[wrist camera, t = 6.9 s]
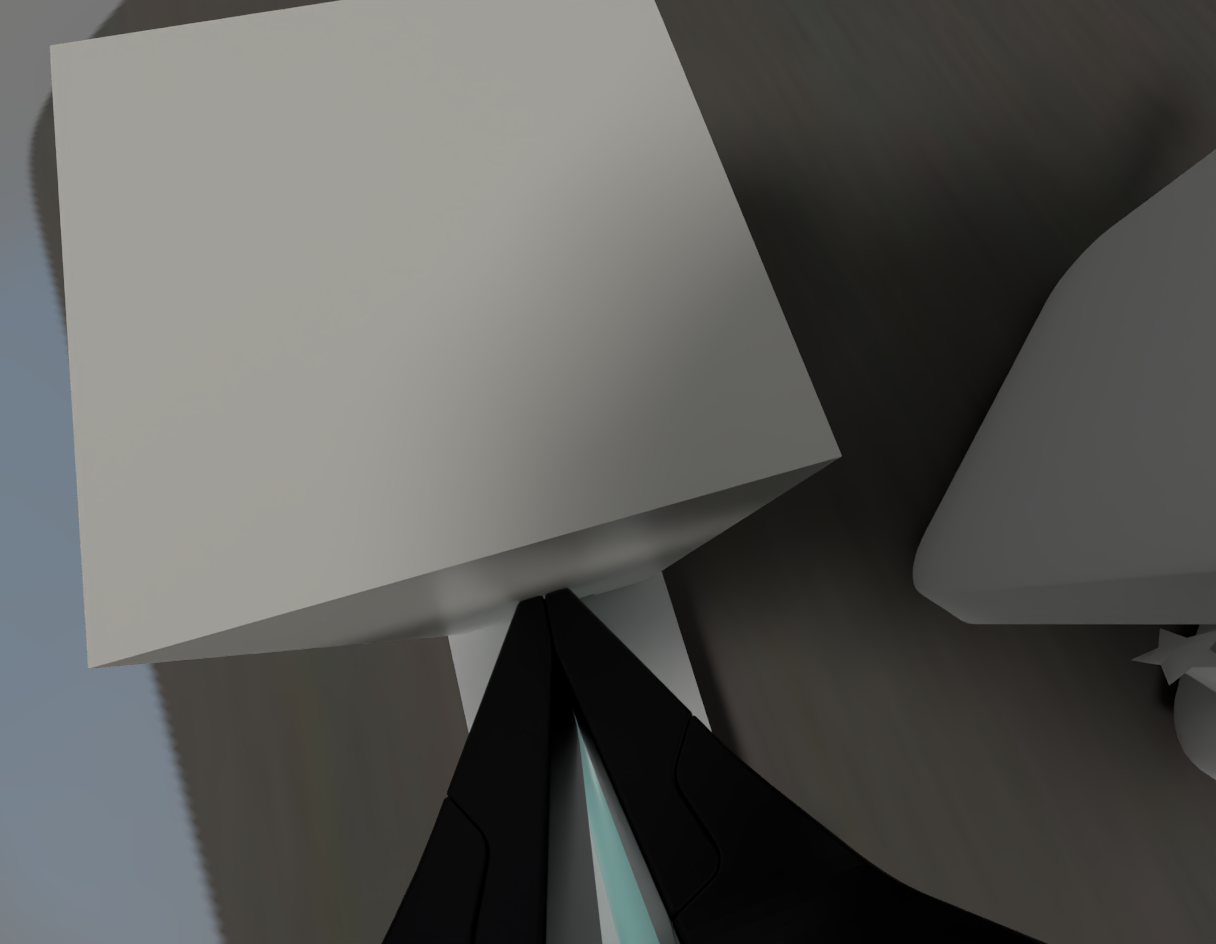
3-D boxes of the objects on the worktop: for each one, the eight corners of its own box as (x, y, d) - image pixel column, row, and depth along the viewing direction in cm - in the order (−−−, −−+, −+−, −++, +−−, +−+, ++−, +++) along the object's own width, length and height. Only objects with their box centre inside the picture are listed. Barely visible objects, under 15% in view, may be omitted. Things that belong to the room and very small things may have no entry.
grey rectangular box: (646, 580, 15) (843, 456, 4) (465, 634, 15) (88, 669, 3) (596, 413, 16) (635, -47, 5) (426, 457, 16) (51, 45, 5)
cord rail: (810, 1069, 14) (937, 1313, 9) (572, 1171, 13) (569, 1495, 8) (552, 239, 19) (544, 113, 15) (377, 277, 19) (308, 157, 14)
